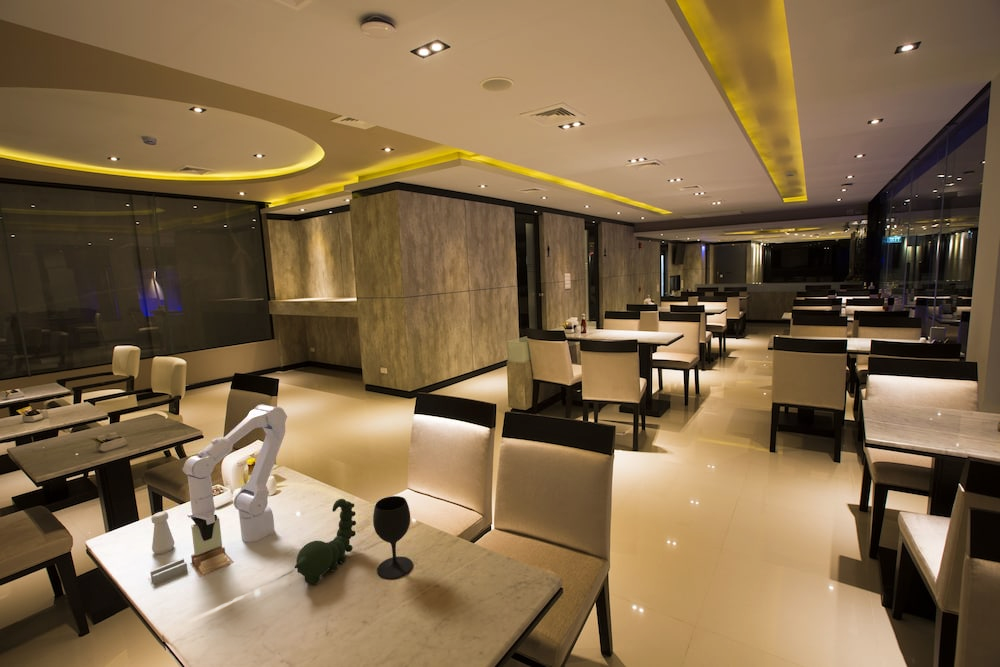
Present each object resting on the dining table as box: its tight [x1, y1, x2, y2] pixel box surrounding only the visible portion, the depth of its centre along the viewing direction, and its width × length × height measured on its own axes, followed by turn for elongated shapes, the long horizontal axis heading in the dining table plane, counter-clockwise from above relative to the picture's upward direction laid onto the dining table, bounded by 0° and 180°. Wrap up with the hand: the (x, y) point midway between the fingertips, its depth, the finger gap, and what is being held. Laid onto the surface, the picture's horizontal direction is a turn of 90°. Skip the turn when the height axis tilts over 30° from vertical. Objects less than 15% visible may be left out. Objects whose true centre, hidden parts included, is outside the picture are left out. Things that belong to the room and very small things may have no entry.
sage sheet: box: [190, 515, 223, 556], centre depth 140 cm, size 7×2×9 cm, turn 137°
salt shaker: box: [151, 511, 175, 555], centre depth 146 cm, size 6×6×13 cm
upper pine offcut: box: [201, 553, 227, 570], centre depth 137 cm, size 6×4×1 cm, turn 137°
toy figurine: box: [294, 498, 357, 586], centre depth 134 cm, size 9×19×25 cm
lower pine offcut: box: [199, 555, 230, 575], centre depth 137 cm, size 7×4×1 cm, turn 137°
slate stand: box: [148, 558, 191, 588], centre depth 133 cm, size 9×6×3 cm, turn 137°
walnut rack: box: [189, 545, 235, 578], centre depth 139 cm, size 9×10×3 cm
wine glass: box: [372, 495, 414, 580], centre depth 133 cm, size 10×10×20 cm
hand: (206, 538), depth 140 cm, fingers closed on sage sheet, 1 cm apart
